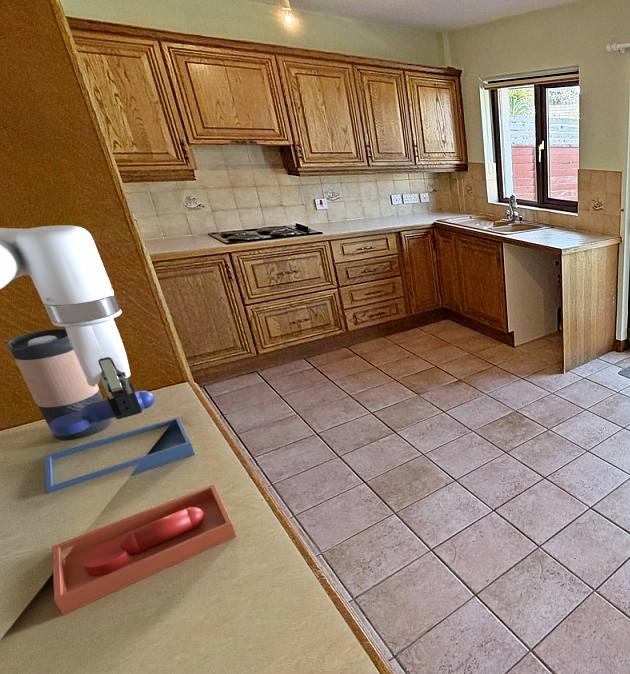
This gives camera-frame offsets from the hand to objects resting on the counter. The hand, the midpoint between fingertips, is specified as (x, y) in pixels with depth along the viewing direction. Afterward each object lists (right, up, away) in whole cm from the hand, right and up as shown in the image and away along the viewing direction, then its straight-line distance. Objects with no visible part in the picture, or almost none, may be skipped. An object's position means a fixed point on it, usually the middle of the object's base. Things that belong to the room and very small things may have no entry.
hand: (127, 409), depth 80 cm
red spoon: (+18, -17, -14) cm, 28 cm away
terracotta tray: (+17, -17, -14) cm, 28 cm away
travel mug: (-15, -6, +7) cm, 18 cm away
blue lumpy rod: (-2, -1, -2) cm, 3 cm away
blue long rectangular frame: (-2, -9, +2) cm, 10 cm away
